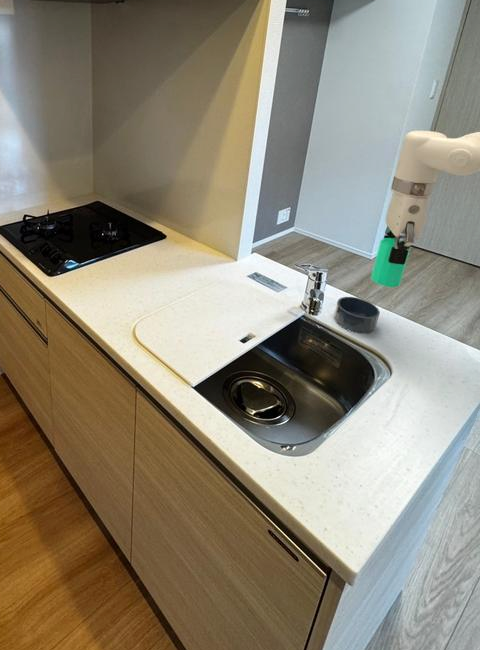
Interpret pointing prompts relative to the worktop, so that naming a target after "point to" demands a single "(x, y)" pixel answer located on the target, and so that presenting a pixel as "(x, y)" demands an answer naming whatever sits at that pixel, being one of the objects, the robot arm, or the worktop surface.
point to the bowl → (356, 314)
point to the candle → (387, 265)
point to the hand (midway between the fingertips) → (392, 256)
